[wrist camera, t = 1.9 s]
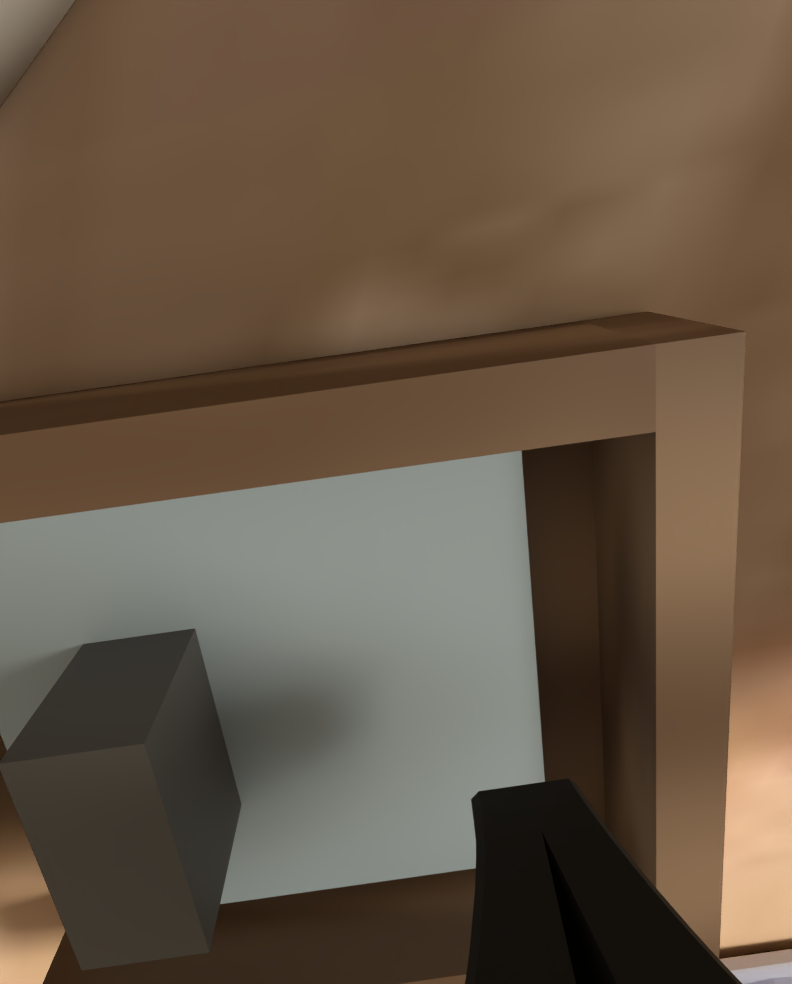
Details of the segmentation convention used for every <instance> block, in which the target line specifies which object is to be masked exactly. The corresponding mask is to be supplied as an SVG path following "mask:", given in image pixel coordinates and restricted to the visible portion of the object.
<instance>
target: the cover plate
mask: <svg viewBox="0 0 792 984" xmlns="http://www.w3.org/2000/svg"><path fill="white" fill-rule="evenodd" d="M0 734H1V737H2V739H3V742H4V744H5V747H6V749H7V752H6V753H5V755H4V756H3V757H2V759H1V760H0V771H1V774H2V776H3V779H4V781H5V783H6V786H7V788H8V791H9V793H10V796H11V798H12V801H13V803H14V806H15V808H16V811H17V813H18V815H19V818H20V820H21V823H22V825H23V828H24V830H25V833H26V835H27V838H28V840H29V842H30V845H31V847H32V850H33V852H34V855H35V857H36V860H37V862H38V865H39V867H40V869H41V872H42V874H43V877H44V879H45V882H46V884H47V887H48V889H49V892H50V894H51V896H52V899H53V901H54V904H55V906H56V909H57V911H58V914H59V916H60V919H61V921H62V923H63V926H64V928H65V931H66V933H67V936H68V938H69V941H70V943H71V946H72V948H73V950H74V953H75V955H76V958H77V960H78V963H79V965H80V968H81V970H89V969H96V968H103V967H110V966H117V965H124V964H131V963H138V962H145V961H152V960H160V959H167V958H174V957H181V956H188V955H195V954H202V953H209V952H210V948H211V943H212V939H213V934H214V930H215V925H216V920H217V916H218V911H219V906H220V904H225V903H233V902H240V901H247V900H254V899H261V898H268V897H275V896H282V895H289V894H296V893H303V892H311V891H318V890H325V889H332V888H339V887H346V886H353V885H360V884H367V883H374V882H381V881H389V880H396V879H403V878H410V877H417V876H424V875H431V874H438V873H445V872H452V871H459V870H466V869H474V868H476V837H475V829H474V820H473V812H472V803H471V799H472V798H473V797H474V796H475V795H476V793H477V792H478V791H484V790H491V789H498V788H505V787H512V786H519V785H526V784H533V783H540V782H545V776H544V762H543V748H542V734H541V720H540V706H539V692H538V677H537V663H536V649H535V635H534V621H533V607H532V592H531V578H530V564H529V550H528V536H527V522H526V508H525V493H524V479H523V465H522V451H515V452H508V453H501V454H494V455H487V456H480V457H472V458H465V459H458V460H451V461H444V462H436V463H429V464H422V465H415V466H408V467H401V468H393V469H386V470H379V471H372V472H365V473H358V474H350V475H343V476H336V477H329V478H322V479H314V480H307V481H300V482H293V483H286V484H279V485H271V486H264V487H257V488H250V489H243V490H236V491H228V492H221V493H214V494H207V495H200V496H193V497H185V498H178V499H171V500H164V501H157V502H149V503H142V504H135V505H128V506H121V507H114V508H106V509H99V510H92V511H85V512H78V513H71V514H63V515H56V516H49V517H42V518H35V519H27V520H20V521H13V522H6V523H0Z"/></svg>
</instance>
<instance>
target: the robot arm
mask: <svg viewBox="0 0 792 984" xmlns="http://www.w3.org/2000/svg"><path fill="white" fill-rule="evenodd" d="M471 803H472V812H473V820H474V829H475V837H476V875H475V895H474V906H473V918H472V929H471V941H470V950H469V959H468V966H467V973H466V980H465V984H792V949H786V950H779V951H772V952H765V953H758V954H751V955H744V956H737V957H730V958H723V959H718V957H717V956H716V955H715V954H714V953H713V952H712V951H711V950H710V949H709V948H708V946H707V945H706V944H705V943H704V942H703V941H702V940H701V939H700V938H699V937H698V935H697V934H696V933H695V932H694V931H693V930H692V929H691V928H690V926H689V925H688V924H687V923H686V922H685V921H684V920H683V918H682V917H681V916H680V915H679V914H678V913H677V911H676V910H675V909H674V908H673V907H672V906H671V905H670V903H669V902H668V901H667V900H666V899H665V898H664V896H663V895H662V894H661V893H660V892H659V891H658V890H657V888H656V887H655V886H654V885H653V884H652V883H651V881H650V880H649V879H648V878H647V876H646V875H645V874H644V873H643V872H642V870H641V869H640V868H639V867H638V866H637V864H636V863H635V862H634V861H633V859H632V858H631V857H630V856H629V854H628V853H627V852H626V850H625V849H624V848H623V847H622V845H621V844H620V843H619V842H618V840H617V839H616V838H615V837H614V835H613V834H612V833H611V831H610V830H609V829H608V827H607V826H606V825H605V823H604V822H603V821H602V819H601V818H600V817H599V815H598V814H597V813H596V811H595V810H594V808H593V807H592V806H591V804H590V803H589V801H588V800H587V799H586V797H585V796H584V794H583V793H582V791H581V790H580V788H579V787H578V785H577V784H576V783H574V782H573V781H571V780H570V779H569V778H568V779H561V780H554V781H547V782H540V783H533V784H526V785H519V786H512V787H505V788H498V789H491V790H484V791H478V792H477V793H476V795H475V796H474V797H473V798H472V799H471Z"/></svg>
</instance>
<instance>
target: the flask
mask: <svg viewBox="0 0 792 984" xmlns="http://www.w3.org/2000/svg"><path fill="white" fill-rule="evenodd" d="M74 2H75V0H0V107H1V105H2V104H3V103H4V101H5V100H6V98H7V97H8V95H9V94H10V93H11V91H12V90H13V88H14V87H15V85H16V84H17V83H18V81H19V80H20V78H21V77H22V75H23V74H24V73H25V71H26V70H27V68H28V67H29V66H30V64H31V63H32V61H33V60H34V58H35V57H36V56H37V54H38V53H39V51H40V50H41V48H42V47H43V46H44V44H45V43H46V41H47V40H48V39H49V37H50V36H51V34H52V33H53V31H54V30H55V29H56V27H57V26H58V24H59V23H60V21H61V20H62V19H63V17H64V16H65V14H66V13H67V11H68V10H69V9H70V7H71V6H72V4H73V3H74Z"/></svg>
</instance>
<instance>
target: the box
mask: <svg viewBox="0 0 792 984" xmlns="http://www.w3.org/2000/svg"><path fill="white" fill-rule="evenodd" d="M745 340H746V332H745V331H740V330H736V329H731V328H726V327H721V326H716V325H711V324H706V323H701V322H696V321H691V320H687V319H682V318H677V317H672V316H667V315H662V314H657V313H652V312H644V313H636V314H629V315H622V316H615V317H608V318H600V319H593V320H586V321H579V322H572V323H564V324H557V325H550V326H543V327H536V328H528V329H521V330H514V331H507V332H500V333H492V334H485V335H478V336H471V337H464V338H456V339H449V340H442V341H435V342H428V343H420V344H413V345H406V346H399V347H392V348H384V349H377V350H370V351H363V352H356V353H348V354H341V355H334V356H327V357H320V358H312V359H305V360H298V361H291V362H284V363H276V364H269V365H262V366H255V367H248V368H240V369H233V370H226V371H219V372H212V373H204V374H197V375H190V376H183V377H176V378H168V379H161V380H154V381H147V382H140V383H132V384H125V385H118V386H111V387H104V388H96V389H89V390H82V391H75V392H68V393H60V394H53V395H46V396H39V397H31V398H24V399H17V400H10V401H3V402H0V523H6V522H13V521H20V520H27V519H35V518H42V517H49V516H56V515H63V514H71V513H78V512H85V511H92V510H99V509H106V508H114V507H121V506H128V505H135V504H142V503H149V502H157V501H164V500H171V499H178V498H185V497H193V496H200V495H207V494H214V493H221V492H228V491H236V490H243V489H250V488H257V487H264V486H271V485H279V484H286V483H293V482H300V481H307V480H314V479H322V478H329V477H336V476H343V475H350V474H358V473H365V472H372V471H379V470H386V469H393V468H401V467H408V466H415V465H422V464H429V463H436V462H444V461H451V460H458V459H465V458H472V457H480V456H487V455H494V454H501V453H508V452H515V451H522V465H523V479H524V493H525V508H526V522H527V536H528V550H529V564H530V578H531V592H532V607H533V621H534V635H535V649H536V663H537V677H538V692H539V706H540V720H541V734H542V748H543V762H544V776H545V782H547V781H554V780H561V779H568V778H569V779H570V780H571V781H573V782H574V783H576V784H577V785H578V787H579V788H580V790H581V791H582V793H583V794H584V796H585V797H586V799H587V800H588V801H589V803H590V804H591V806H592V807H593V808H594V810H595V811H596V813H597V814H598V815H599V817H600V818H601V819H602V821H603V822H604V823H605V825H606V826H607V827H608V829H609V830H610V831H611V833H612V834H613V835H614V837H615V838H616V839H617V840H618V842H619V843H620V844H621V845H622V847H623V848H624V849H625V850H626V852H627V853H628V854H629V856H630V857H631V858H632V859H633V861H634V862H635V863H636V864H637V866H638V867H639V868H640V869H641V870H642V872H643V873H644V874H645V875H646V876H647V878H648V879H649V880H650V881H651V883H652V884H653V885H654V886H655V887H656V888H657V890H658V891H659V892H660V893H661V894H662V895H663V896H664V898H665V899H666V900H667V901H668V902H669V903H670V905H671V906H672V907H673V908H674V909H675V910H676V911H677V913H678V914H679V915H680V916H681V917H682V918H683V920H684V921H685V922H686V923H687V924H688V925H689V926H690V928H691V929H692V930H693V931H694V932H695V933H696V934H697V935H698V937H699V938H700V939H701V940H702V941H703V942H704V943H705V944H706V945H707V946H708V948H709V949H710V950H711V951H712V952H713V953H714V954H715V955H716V956H717V957H718V959H719V950H720V926H721V903H722V879H723V856H724V832H725V809H726V786H727V762H728V739H729V715H730V692H731V668H732V645H733V621H734V598H735V574H736V551H737V528H738V504H739V481H740V457H741V434H742V410H743V387H744V363H745ZM475 875H476V868H474V869H466V870H459V871H452V872H445V873H438V874H431V875H424V876H417V877H410V878H403V879H396V880H389V881H381V882H374V883H367V884H360V885H353V886H346V887H339V888H332V889H325V890H318V891H311V892H303V893H296V894H289V895H282V896H275V897H268V898H261V899H254V900H247V901H240V902H233V903H225V904H220V906H219V911H218V916H217V920H216V925H215V930H214V934H213V939H212V943H211V948H210V952H209V953H202V954H195V955H188V956H181V957H174V958H167V959H160V960H152V961H145V962H138V963H131V964H124V965H117V966H110V967H103V968H96V969H89V970H81V968H80V965H79V963H78V960H77V958H76V955H75V953H74V950H73V948H72V946H71V943H70V941H69V938H68V936H67V933H66V931H65V934H64V936H63V938H62V940H61V943H60V945H59V947H58V950H57V952H56V954H55V957H54V959H53V961H52V963H51V966H50V968H49V970H48V973H47V975H46V977H45V980H44V982H43V984H465V980H466V973H467V966H468V959H469V950H470V941H471V929H472V918H473V906H474V895H475Z"/></svg>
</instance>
